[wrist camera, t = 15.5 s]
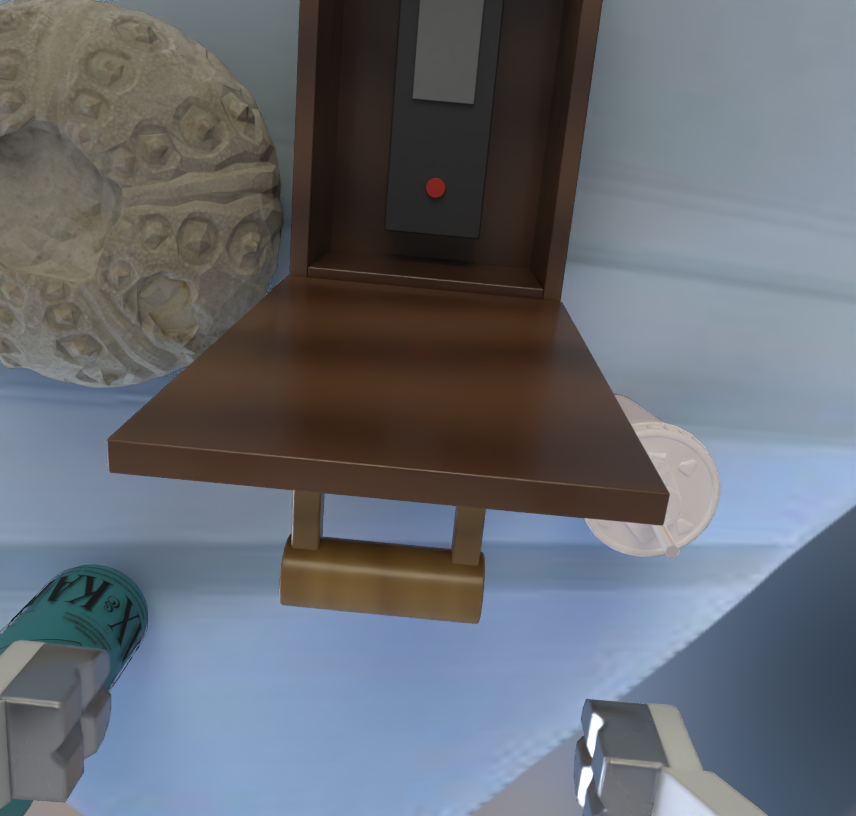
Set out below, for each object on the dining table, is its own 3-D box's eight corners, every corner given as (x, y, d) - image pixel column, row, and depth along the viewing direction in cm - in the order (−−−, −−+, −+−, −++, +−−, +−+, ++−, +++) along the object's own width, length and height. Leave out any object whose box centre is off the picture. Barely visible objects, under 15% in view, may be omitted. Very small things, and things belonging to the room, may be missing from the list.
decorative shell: (355, 117, 41) (325, 107, 32) (226, 414, 46) (166, 482, 37) (21, -55, 39) (-117, -120, 30) (-75, 274, 45) (-220, 308, 35)
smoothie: (548, 473, 47) (584, 602, 33) (562, 366, 45) (606, 457, 32) (658, 483, 47) (739, 615, 33) (677, 375, 45) (771, 471, 31)
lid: (105, 439, 17) (115, 636, 19) (671, 493, 17) (630, 687, 19) (287, 275, 36) (283, 383, 37) (562, 301, 36) (546, 408, 37)
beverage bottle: (136, 657, 52) (-52, 954, 32) (39, 610, 51) (-212, 887, 32) (178, 578, 50) (5, 844, 31) (78, 528, 49) (-164, 769, 30)
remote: (411, -81, 38) (406, -105, 34) (509, -73, 38) (514, -95, 34) (389, 224, 42) (383, 231, 39) (477, 232, 42) (479, 240, 39)
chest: (336, -140, 38) (307, -211, 31) (594, -116, 38) (628, -181, 30) (317, 260, 44) (288, 282, 36) (542, 281, 44) (559, 308, 36)
